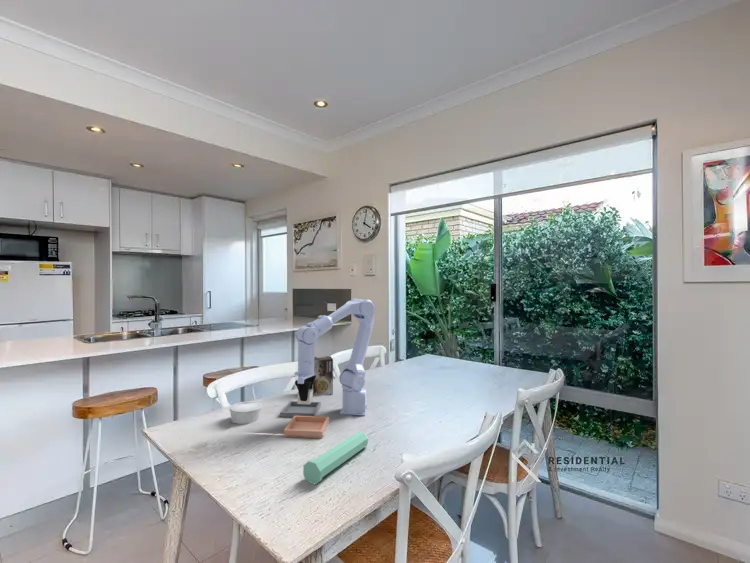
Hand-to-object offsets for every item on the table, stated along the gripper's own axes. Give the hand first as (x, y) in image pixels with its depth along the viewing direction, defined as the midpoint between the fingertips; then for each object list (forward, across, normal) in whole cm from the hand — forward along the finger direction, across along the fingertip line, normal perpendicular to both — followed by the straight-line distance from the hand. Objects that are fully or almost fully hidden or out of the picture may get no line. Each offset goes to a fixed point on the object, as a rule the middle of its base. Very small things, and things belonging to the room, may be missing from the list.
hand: (305, 398), depth 129 cm
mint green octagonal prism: (+10, +26, +17) cm, 32 cm away
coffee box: (+9, -34, -1) cm, 35 cm away
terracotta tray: (+9, +5, +2) cm, 10 cm away
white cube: (+1, 0, 0) cm, 1 cm away
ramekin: (+9, -1, -22) cm, 24 cm away
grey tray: (+9, -10, -4) cm, 14 cm away
